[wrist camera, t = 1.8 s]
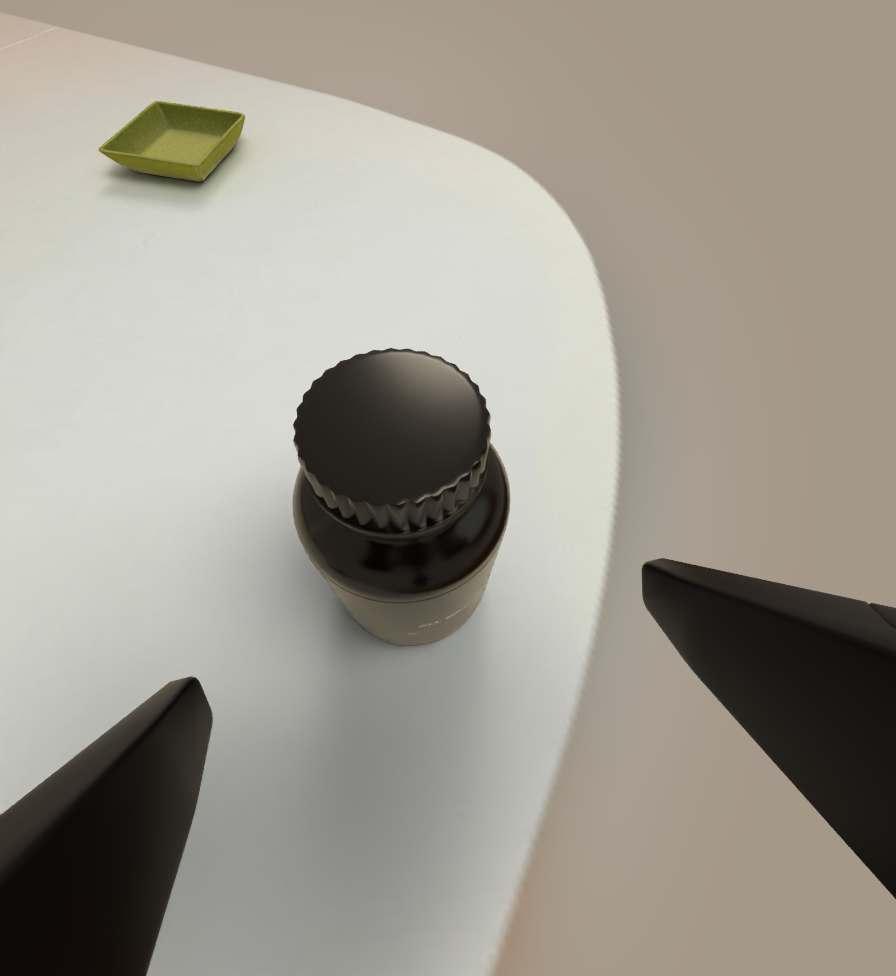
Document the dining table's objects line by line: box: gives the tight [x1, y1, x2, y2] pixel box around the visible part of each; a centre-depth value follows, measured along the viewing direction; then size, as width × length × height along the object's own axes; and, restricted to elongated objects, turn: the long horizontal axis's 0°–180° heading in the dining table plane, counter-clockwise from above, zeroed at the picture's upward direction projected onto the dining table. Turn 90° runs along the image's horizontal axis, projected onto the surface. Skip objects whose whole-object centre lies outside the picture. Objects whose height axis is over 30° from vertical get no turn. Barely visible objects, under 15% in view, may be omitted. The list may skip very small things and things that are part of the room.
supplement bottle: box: [293, 348, 510, 646], centre depth 16 cm, size 7×7×12 cm
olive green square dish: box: [99, 101, 245, 182], centre depth 37 cm, size 9×9×2 cm
